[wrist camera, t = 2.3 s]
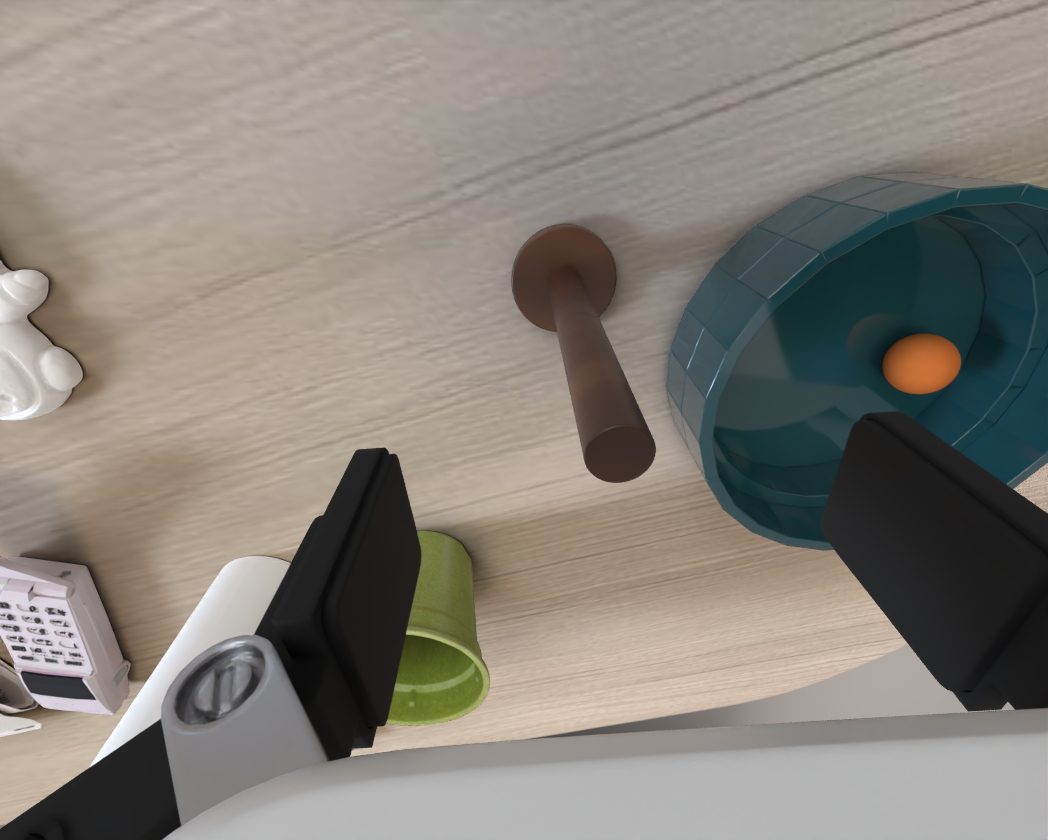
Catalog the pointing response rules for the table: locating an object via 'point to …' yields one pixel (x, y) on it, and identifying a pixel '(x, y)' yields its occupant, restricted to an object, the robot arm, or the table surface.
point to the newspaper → (14, 703)
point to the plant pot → (440, 641)
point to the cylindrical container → (204, 635)
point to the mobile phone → (61, 636)
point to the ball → (921, 363)
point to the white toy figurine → (29, 352)
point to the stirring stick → (584, 344)
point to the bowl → (864, 339)
